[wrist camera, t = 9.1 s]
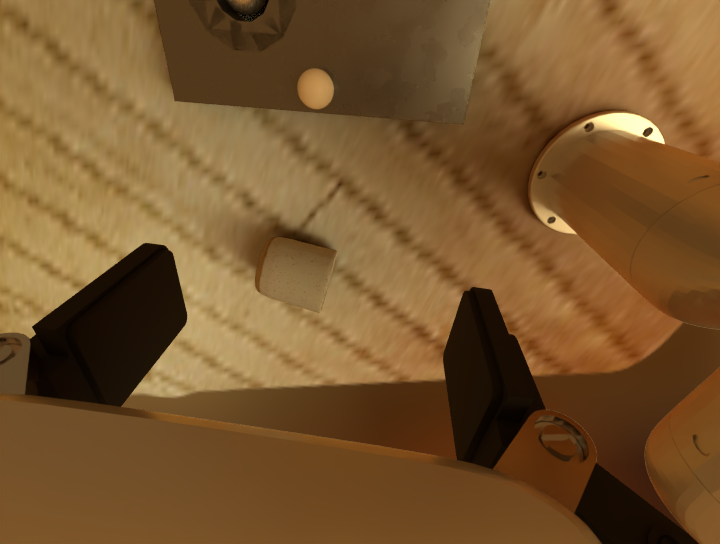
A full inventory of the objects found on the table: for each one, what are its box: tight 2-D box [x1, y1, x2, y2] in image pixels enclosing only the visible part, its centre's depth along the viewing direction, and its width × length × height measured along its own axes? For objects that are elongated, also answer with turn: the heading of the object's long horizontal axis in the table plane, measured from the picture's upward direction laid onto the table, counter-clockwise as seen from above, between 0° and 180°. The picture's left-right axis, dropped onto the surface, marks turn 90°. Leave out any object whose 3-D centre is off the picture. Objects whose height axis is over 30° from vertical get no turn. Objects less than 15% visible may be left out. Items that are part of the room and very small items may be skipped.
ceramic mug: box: [255, 237, 337, 313], centre depth 41 cm, size 11×8×8 cm
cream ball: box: [297, 68, 334, 109], centre depth 28 cm, size 3×3×3 cm
